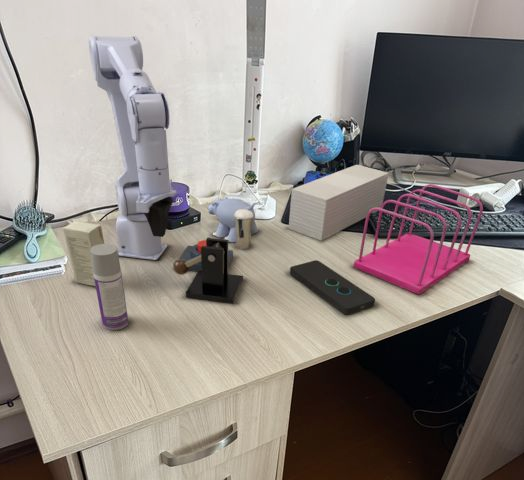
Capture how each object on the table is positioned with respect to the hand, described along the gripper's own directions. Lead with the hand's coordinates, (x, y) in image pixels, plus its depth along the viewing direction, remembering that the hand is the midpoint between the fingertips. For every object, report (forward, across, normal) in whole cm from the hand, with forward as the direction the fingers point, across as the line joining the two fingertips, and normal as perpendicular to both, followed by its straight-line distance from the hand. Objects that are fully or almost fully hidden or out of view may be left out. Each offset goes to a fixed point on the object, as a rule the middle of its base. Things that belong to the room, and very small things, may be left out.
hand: (159, 235), depth 98 cm
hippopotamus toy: (+10, +30, -9) cm, 32 cm away
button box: (+10, +10, -7) cm, 16 cm away
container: (+11, -18, +3) cm, 21 cm away
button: (+7, +10, -7) cm, 14 cm away
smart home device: (+11, +6, -36) cm, 38 cm away
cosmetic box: (+10, -4, +14) cm, 18 cm away
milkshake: (+10, +22, -14) cm, 27 cm away
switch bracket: (+10, 0, -12) cm, 16 cm away
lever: (+6, -1, -9) cm, 10 cm away
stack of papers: (+10, +46, -36) cm, 59 cm away
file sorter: (+11, +22, -55) cm, 60 cm away
